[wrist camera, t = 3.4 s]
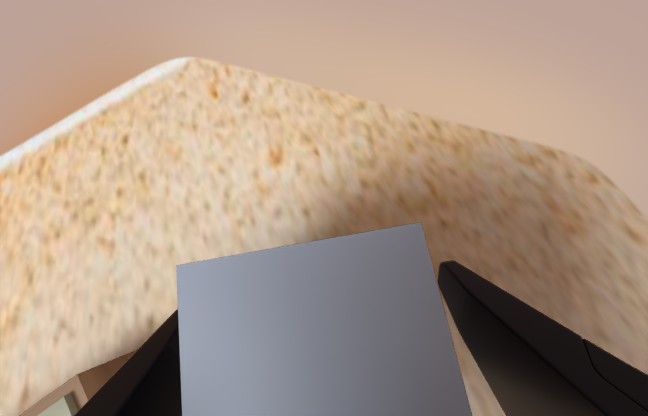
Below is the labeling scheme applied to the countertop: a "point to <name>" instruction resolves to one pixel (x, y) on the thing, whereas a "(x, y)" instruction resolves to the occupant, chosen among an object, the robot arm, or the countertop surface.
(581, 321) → the countertop surface
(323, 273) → the slate brick
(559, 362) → the robot arm
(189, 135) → the countertop surface
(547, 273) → the countertop surface
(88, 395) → the walnut base block
